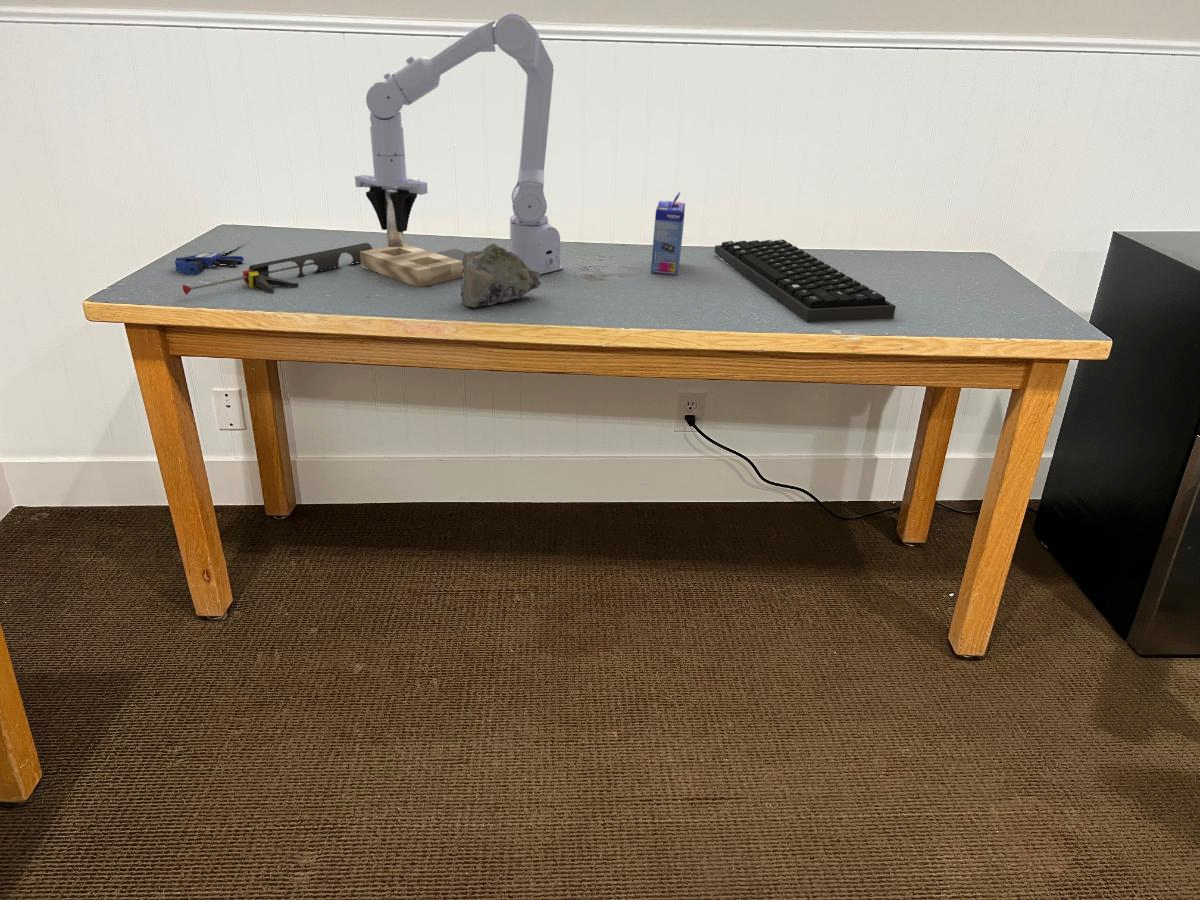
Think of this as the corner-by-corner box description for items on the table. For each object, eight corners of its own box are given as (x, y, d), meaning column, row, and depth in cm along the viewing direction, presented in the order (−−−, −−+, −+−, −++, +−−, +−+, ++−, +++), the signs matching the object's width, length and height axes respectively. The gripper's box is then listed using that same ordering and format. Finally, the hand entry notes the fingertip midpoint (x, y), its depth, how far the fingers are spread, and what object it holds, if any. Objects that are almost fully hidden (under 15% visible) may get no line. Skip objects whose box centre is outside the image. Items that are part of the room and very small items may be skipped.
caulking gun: (392, 256, 165) (359, 237, 170) (208, 295, 139) (175, 272, 144) (391, 275, 167) (358, 256, 172) (210, 318, 141) (177, 294, 146)
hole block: (463, 277, 161) (462, 261, 159) (419, 287, 154) (418, 270, 153) (404, 258, 171) (403, 243, 170) (361, 267, 165) (359, 251, 163)
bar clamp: (222, 264, 156) (167, 262, 156) (224, 277, 157) (170, 275, 157) (285, 231, 186) (238, 229, 186) (286, 242, 187) (240, 241, 187)
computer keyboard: (714, 258, 182) (715, 239, 180) (784, 255, 185) (786, 237, 184) (806, 325, 143) (809, 303, 141) (892, 321, 146) (896, 299, 144)
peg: (407, 245, 164) (404, 191, 160) (397, 248, 162) (394, 192, 158) (394, 243, 165) (391, 189, 161) (384, 246, 163) (380, 191, 159)
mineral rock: (541, 295, 152) (541, 237, 148) (535, 313, 143) (534, 253, 138) (468, 292, 152) (466, 234, 148) (457, 310, 143) (454, 249, 138)
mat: (487, 259, 173) (487, 257, 173) (447, 267, 166) (447, 266, 166) (455, 250, 179) (455, 248, 179) (416, 258, 172) (416, 256, 172)
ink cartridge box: (679, 275, 166) (684, 198, 160) (650, 274, 167) (654, 196, 160) (681, 263, 175) (686, 189, 168) (653, 261, 176) (658, 187, 169)
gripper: (435, 154, 157) (439, 230, 163) (369, 148, 162) (375, 221, 168) (412, 159, 151) (417, 237, 157) (345, 152, 156) (352, 228, 162)
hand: (394, 230), depth 162 cm, fingers closed on peg, 3 cm apart
